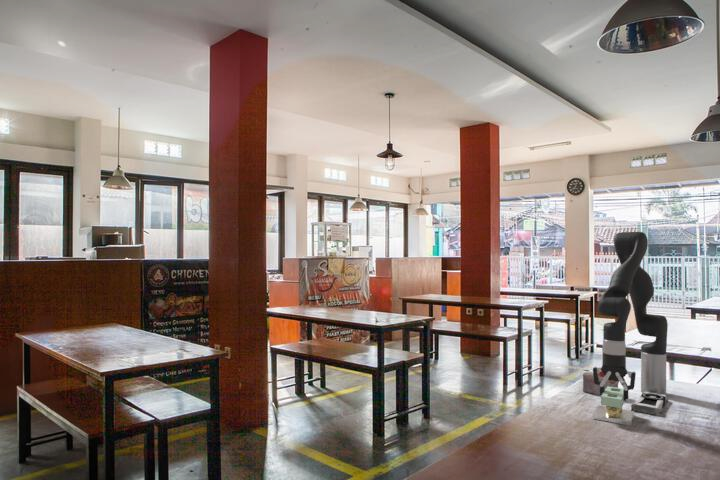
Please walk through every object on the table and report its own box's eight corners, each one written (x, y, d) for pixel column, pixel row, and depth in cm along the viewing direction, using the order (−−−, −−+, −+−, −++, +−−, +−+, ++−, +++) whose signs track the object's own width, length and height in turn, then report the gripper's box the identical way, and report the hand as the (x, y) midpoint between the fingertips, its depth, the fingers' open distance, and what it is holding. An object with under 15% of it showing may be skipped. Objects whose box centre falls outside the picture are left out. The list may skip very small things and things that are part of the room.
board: (607, 394, 187) (607, 386, 187) (626, 397, 183) (626, 389, 183) (600, 404, 174) (600, 396, 174) (621, 408, 170) (621, 399, 170)
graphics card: (631, 404, 185) (642, 389, 205) (631, 413, 185) (642, 397, 205) (662, 409, 179) (671, 394, 199) (662, 418, 179) (671, 402, 198)
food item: (621, 396, 205) (621, 372, 205) (614, 400, 199) (614, 375, 200) (588, 389, 215) (588, 366, 215) (580, 392, 210) (580, 369, 210)
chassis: (598, 409, 187) (598, 389, 187) (634, 415, 181) (634, 394, 181) (592, 418, 176) (592, 397, 176) (630, 425, 169) (630, 404, 170)
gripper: (637, 353, 178) (637, 399, 178) (594, 348, 186) (593, 392, 186) (635, 356, 172) (635, 404, 171) (590, 351, 180) (590, 397, 179)
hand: (613, 398), depth 179 cm, fingers closed on board, 6 cm apart
